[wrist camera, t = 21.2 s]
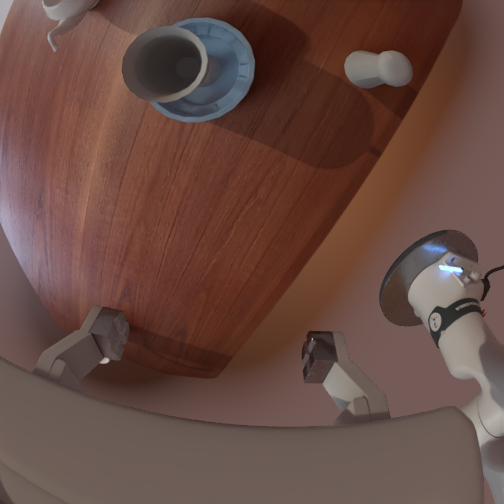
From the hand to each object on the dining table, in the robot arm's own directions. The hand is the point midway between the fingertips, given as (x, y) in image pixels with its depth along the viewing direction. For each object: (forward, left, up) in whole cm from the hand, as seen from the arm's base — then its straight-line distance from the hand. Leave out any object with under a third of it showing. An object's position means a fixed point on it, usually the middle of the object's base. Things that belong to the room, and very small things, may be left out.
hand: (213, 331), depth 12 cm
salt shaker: (-16, -14, -34) cm, 40 cm away
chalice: (+6, -11, -33) cm, 35 cm away
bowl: (+6, -11, -33) cm, 36 cm away
